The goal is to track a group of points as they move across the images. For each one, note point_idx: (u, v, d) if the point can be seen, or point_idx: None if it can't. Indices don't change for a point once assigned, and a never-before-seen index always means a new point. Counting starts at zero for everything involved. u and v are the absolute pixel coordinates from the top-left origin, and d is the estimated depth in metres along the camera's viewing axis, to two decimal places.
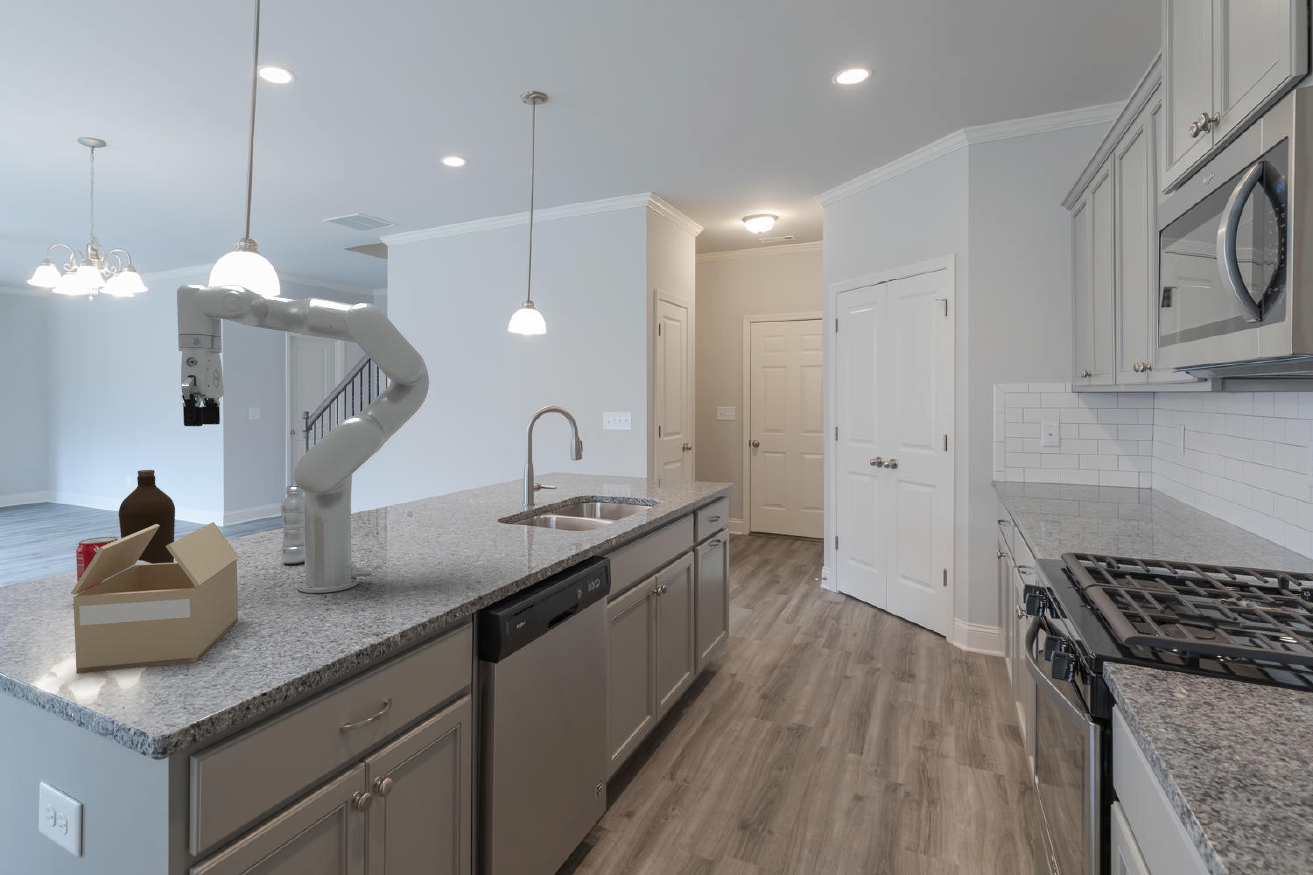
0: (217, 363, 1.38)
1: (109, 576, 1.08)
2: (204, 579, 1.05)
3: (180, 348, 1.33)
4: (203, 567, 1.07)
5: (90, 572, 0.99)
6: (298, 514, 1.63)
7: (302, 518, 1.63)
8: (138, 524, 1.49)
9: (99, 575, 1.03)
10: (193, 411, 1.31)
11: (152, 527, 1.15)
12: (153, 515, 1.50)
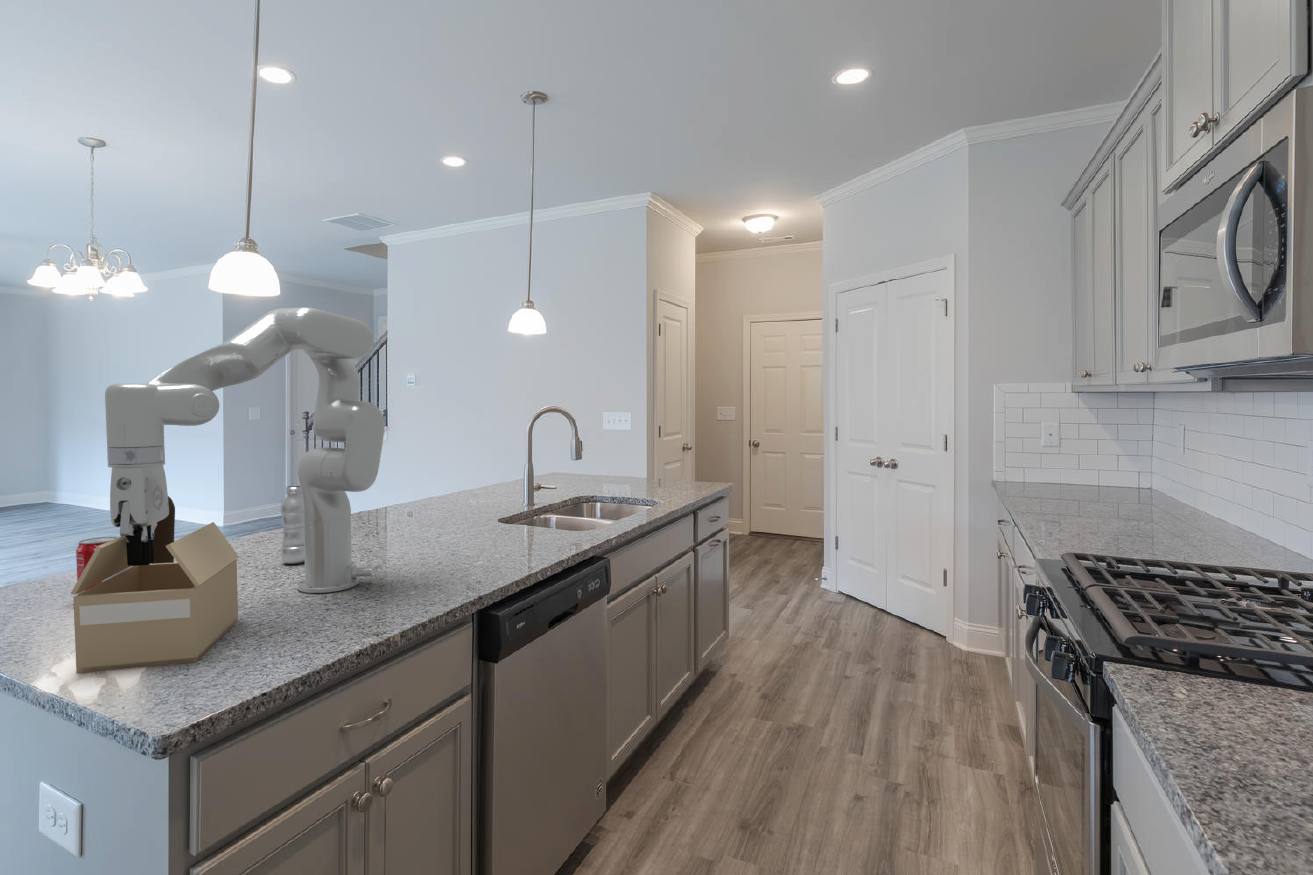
0: (159, 478, 1.10)
1: (109, 576, 1.08)
2: (204, 579, 1.05)
3: (109, 465, 1.04)
4: (203, 567, 1.07)
5: (89, 571, 0.99)
6: (298, 514, 1.63)
7: (302, 518, 1.63)
8: None
9: (98, 575, 1.03)
10: (139, 548, 1.07)
11: None
12: None
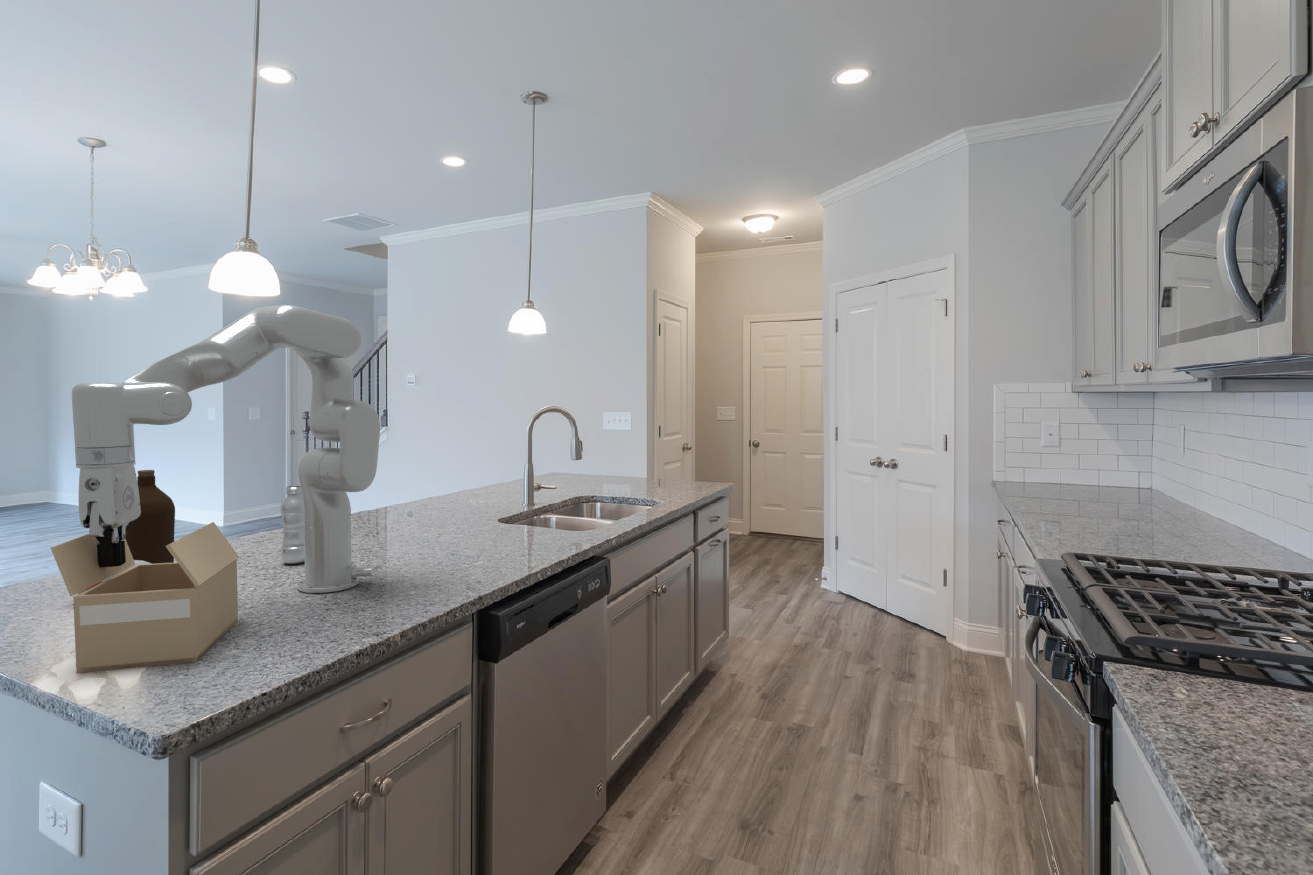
0: (129, 478, 1.08)
1: (108, 576, 1.08)
2: (204, 579, 1.05)
3: (77, 465, 1.03)
4: (203, 567, 1.07)
5: (67, 571, 0.98)
6: (298, 514, 1.63)
7: (302, 518, 1.63)
8: (138, 524, 1.49)
9: (88, 575, 1.03)
10: (109, 549, 1.06)
11: None
12: (153, 515, 1.50)
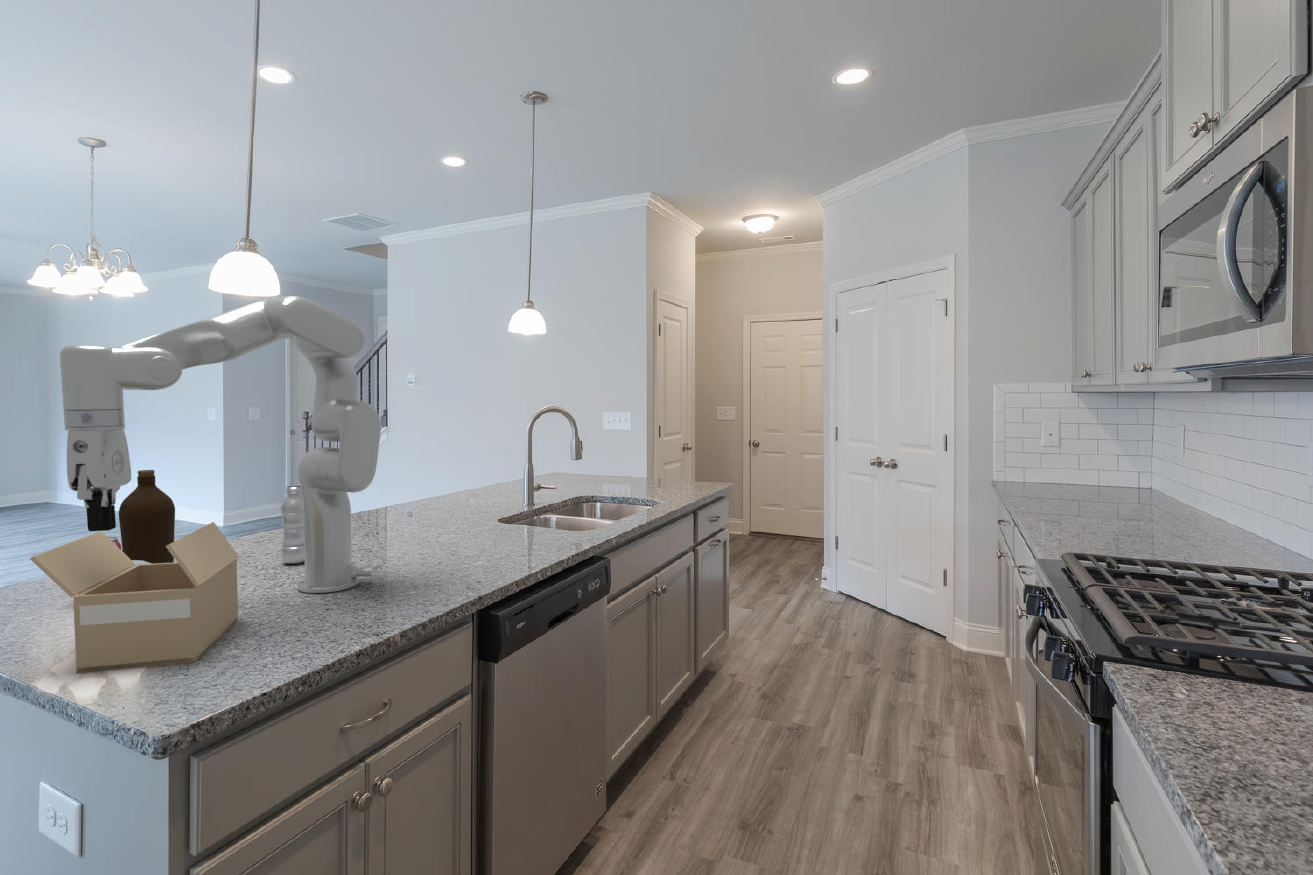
0: (119, 442, 1.08)
1: (108, 576, 1.08)
2: (204, 579, 1.05)
3: (66, 428, 1.03)
4: (203, 567, 1.07)
5: (57, 576, 0.98)
6: (298, 514, 1.63)
7: (302, 518, 1.63)
8: (138, 524, 1.49)
9: (84, 577, 1.03)
10: (99, 513, 1.06)
11: None
12: (153, 515, 1.50)
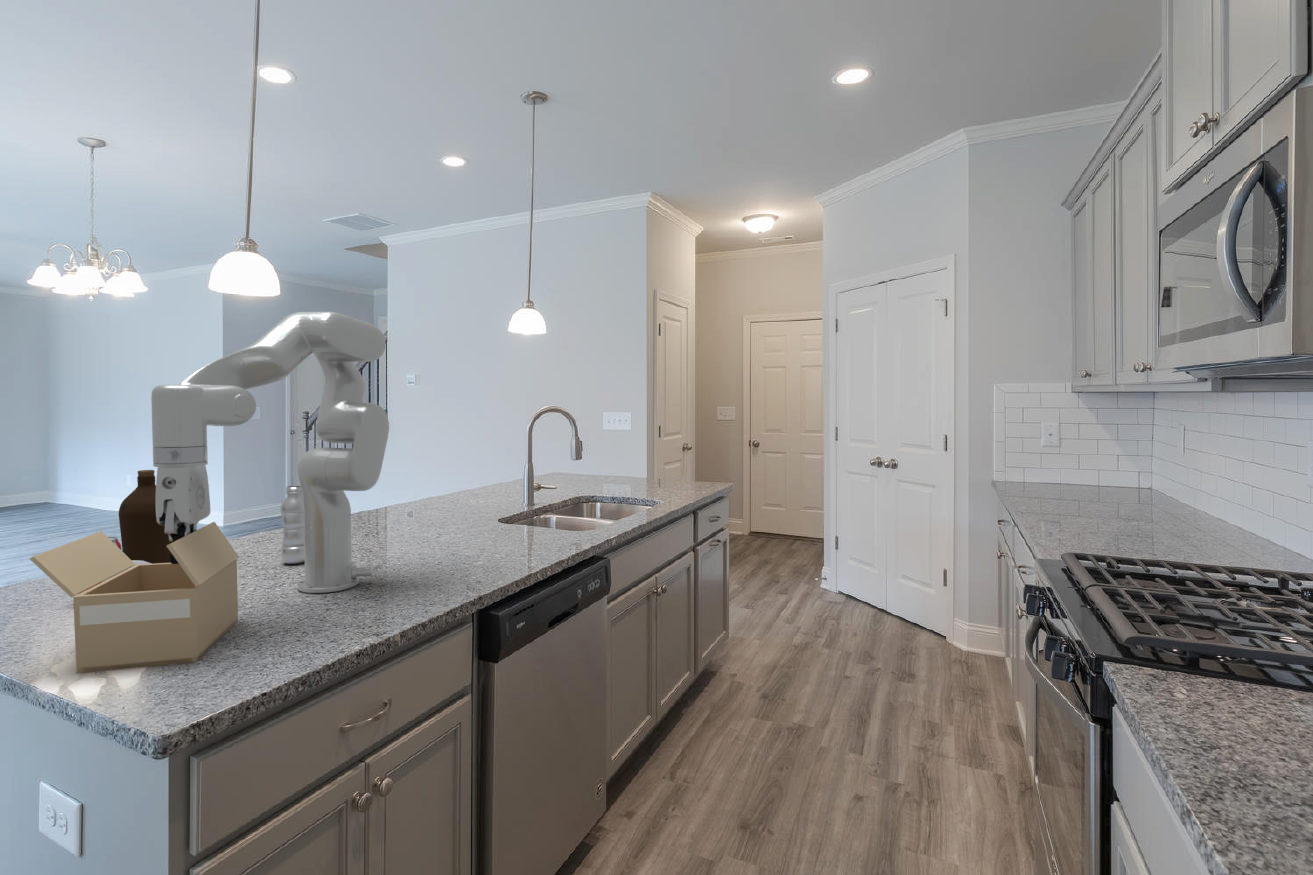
0: (202, 477, 1.11)
1: (107, 576, 1.08)
2: (204, 579, 1.05)
3: (155, 464, 1.06)
4: (203, 567, 1.07)
5: (57, 576, 0.98)
6: (298, 514, 1.63)
7: (302, 518, 1.63)
8: (138, 524, 1.49)
9: (84, 577, 1.03)
10: None
11: None
12: (153, 515, 1.50)
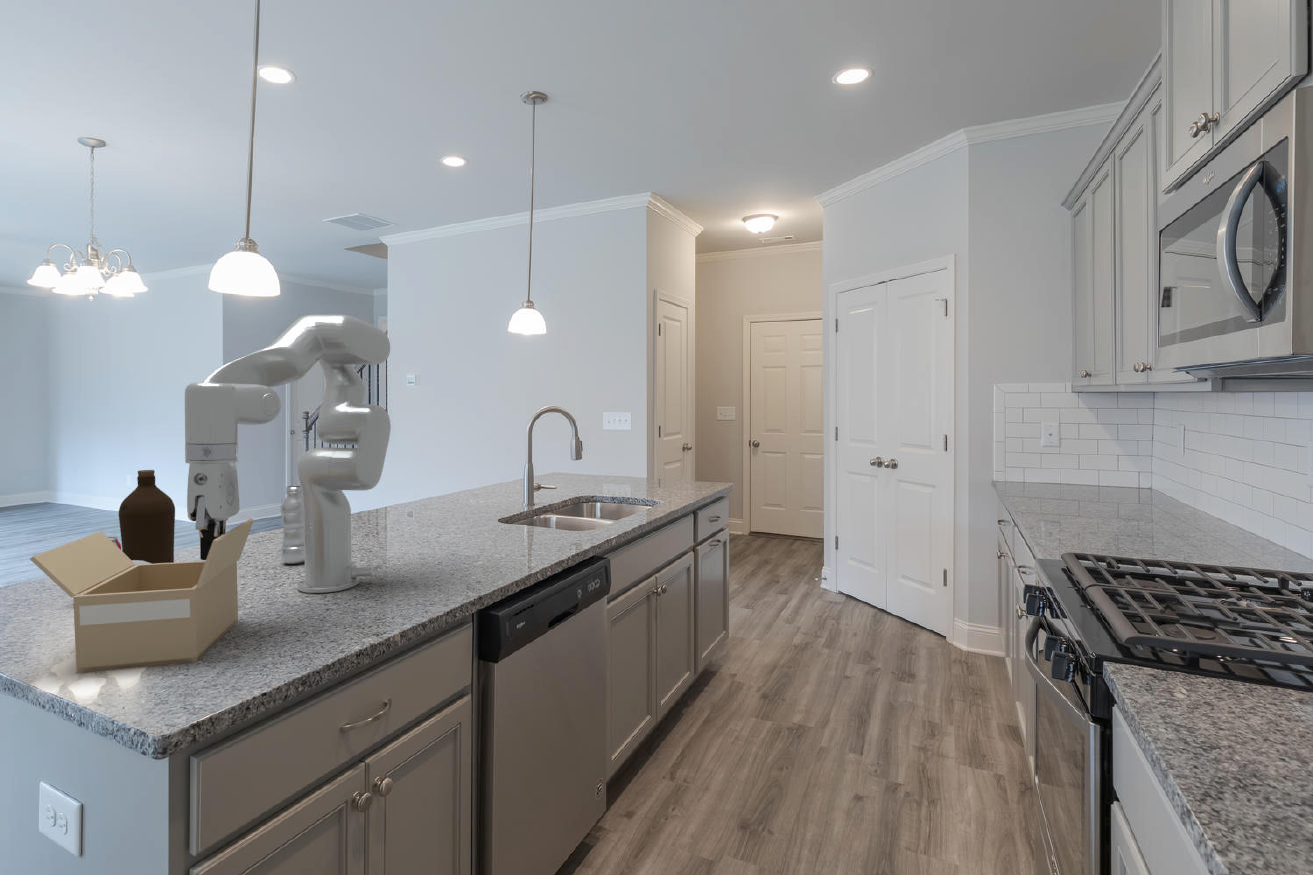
0: (232, 475, 1.13)
1: (107, 576, 1.08)
2: (206, 582, 1.06)
3: (187, 461, 1.08)
4: (214, 569, 1.08)
5: (57, 576, 0.98)
6: (298, 514, 1.63)
7: (302, 518, 1.63)
8: (138, 524, 1.49)
9: (84, 577, 1.03)
10: (211, 542, 1.10)
11: None
12: (153, 515, 1.50)
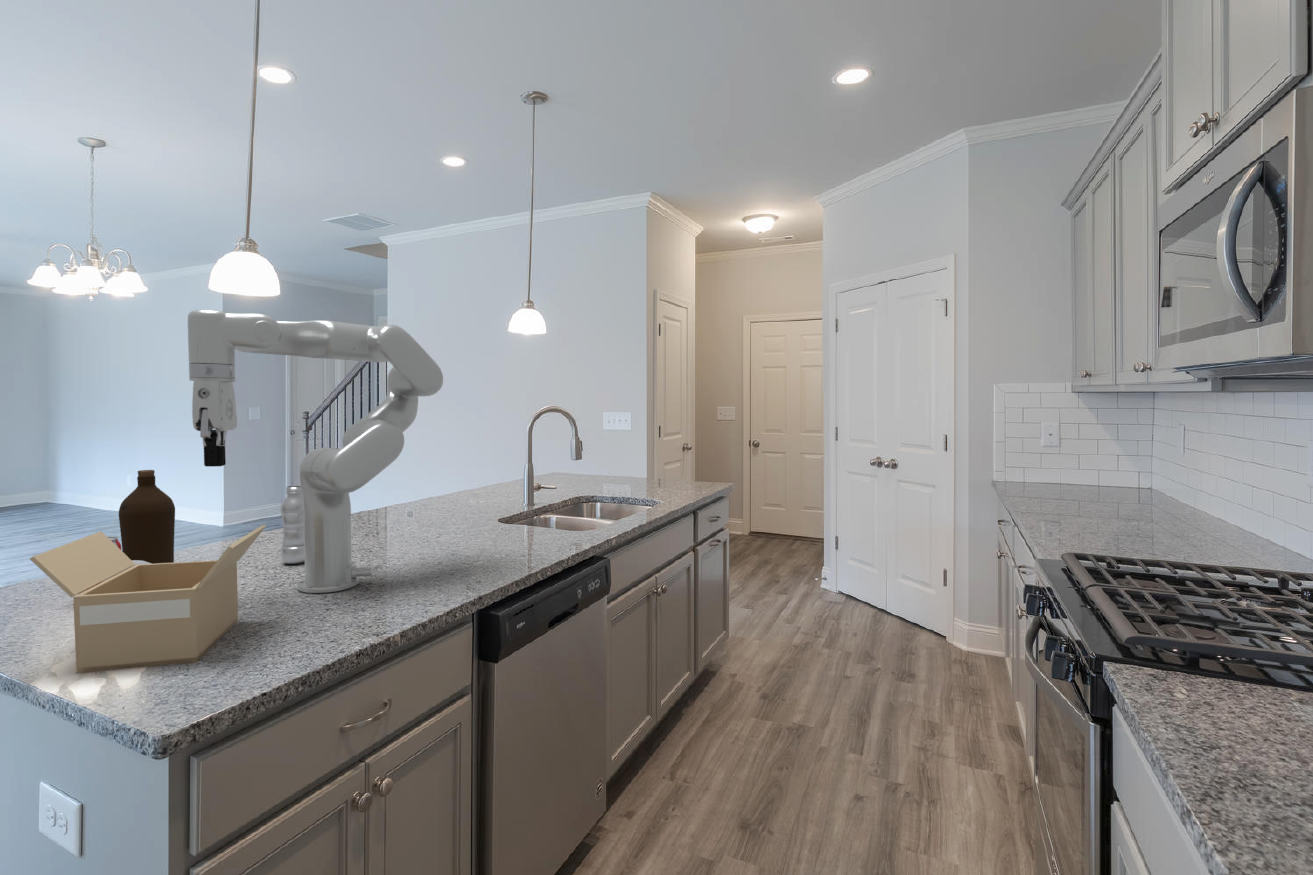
0: (230, 393, 1.28)
1: (107, 576, 1.08)
2: (206, 583, 1.06)
3: (191, 378, 1.23)
4: (218, 571, 1.08)
5: (57, 576, 0.98)
6: (298, 514, 1.63)
7: (302, 518, 1.63)
8: (138, 524, 1.49)
9: (84, 577, 1.03)
10: (214, 451, 1.26)
11: None
12: (153, 515, 1.50)
